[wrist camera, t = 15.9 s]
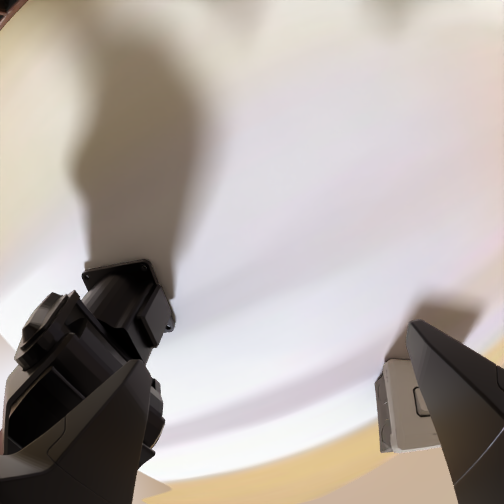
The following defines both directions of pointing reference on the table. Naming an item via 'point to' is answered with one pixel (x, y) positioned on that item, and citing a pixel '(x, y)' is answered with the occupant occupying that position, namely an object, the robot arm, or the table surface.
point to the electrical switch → (403, 411)
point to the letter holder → (9, 10)
